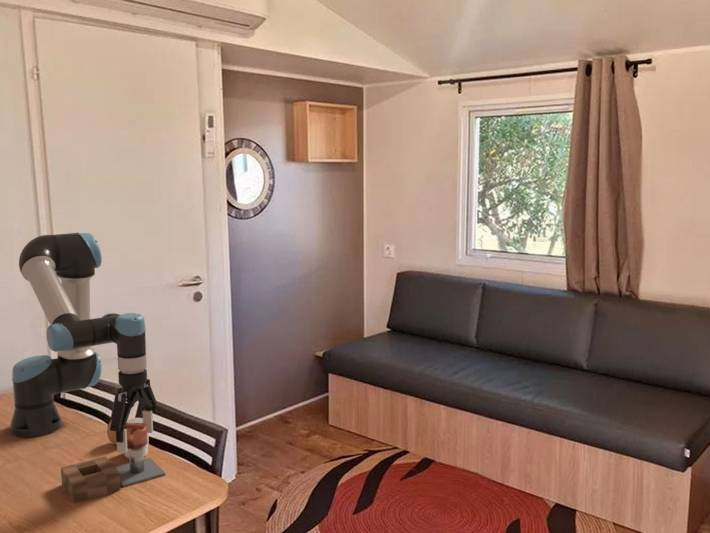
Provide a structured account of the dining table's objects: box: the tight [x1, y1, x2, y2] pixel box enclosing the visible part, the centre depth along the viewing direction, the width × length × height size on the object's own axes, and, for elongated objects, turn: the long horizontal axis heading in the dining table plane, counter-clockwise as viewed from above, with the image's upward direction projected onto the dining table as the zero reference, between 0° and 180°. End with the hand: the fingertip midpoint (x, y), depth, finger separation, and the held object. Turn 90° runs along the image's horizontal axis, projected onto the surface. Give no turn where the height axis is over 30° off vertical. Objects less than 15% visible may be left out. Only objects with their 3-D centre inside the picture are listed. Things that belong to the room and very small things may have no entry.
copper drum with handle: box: [125, 423, 149, 474], centre depth 188 cm, size 6×6×14 cm
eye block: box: [60, 455, 121, 504], centre depth 180 cm, size 12×12×5 cm
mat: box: [115, 457, 166, 488], centre depth 189 cm, size 12×12×1 cm
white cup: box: [124, 417, 150, 459], centre depth 200 cm, size 8×8×10 cm
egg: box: [106, 419, 117, 446], centre depth 206 cm, size 7×7×9 cm
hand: (135, 441), depth 187 cm, fingers open, 13 cm apart
